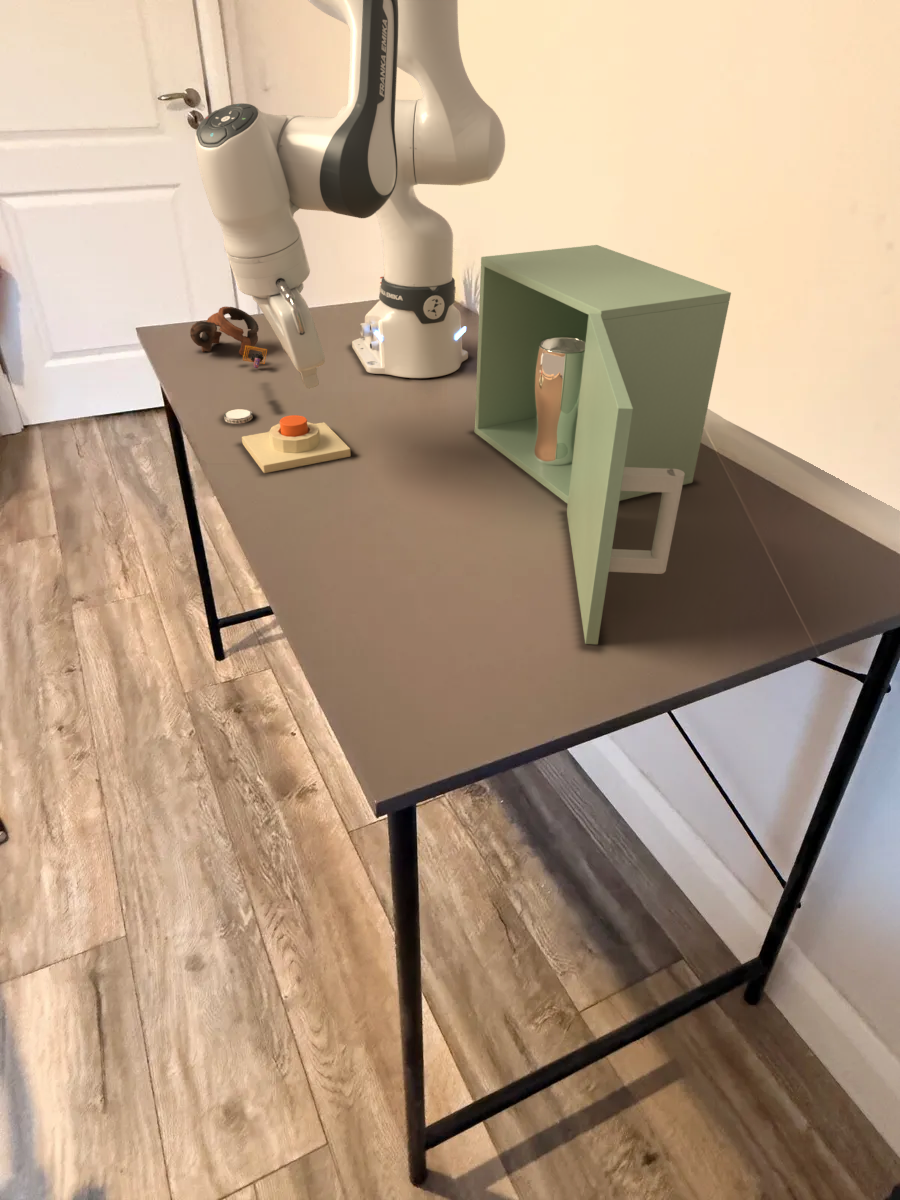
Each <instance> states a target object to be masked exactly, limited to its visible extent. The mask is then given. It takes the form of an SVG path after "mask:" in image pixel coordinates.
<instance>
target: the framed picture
mask: <svg viewBox="0 0 900 1200" xmlns="http://www.w3.org/2000/svg"><path fill="white" fill-rule="evenodd" d="M249 347H251V346H247V350H248V348H249ZM251 350H252V351H254V350H255V351H256V352H257V353H252V356H251V358H249V353H250V352H249V350H248V354H247V351H246V346H245V351H246V355H247V356H245V351H244V356H242V362H243V361H245V362H249V363H253V368H255V369H258V368H259V366H260V365H265V363H266V358H267V352H268V349H267V348H262V347H257V346H254V347H252V348H251V349H250V351H251ZM258 352H262V353H258Z"/></svg>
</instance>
